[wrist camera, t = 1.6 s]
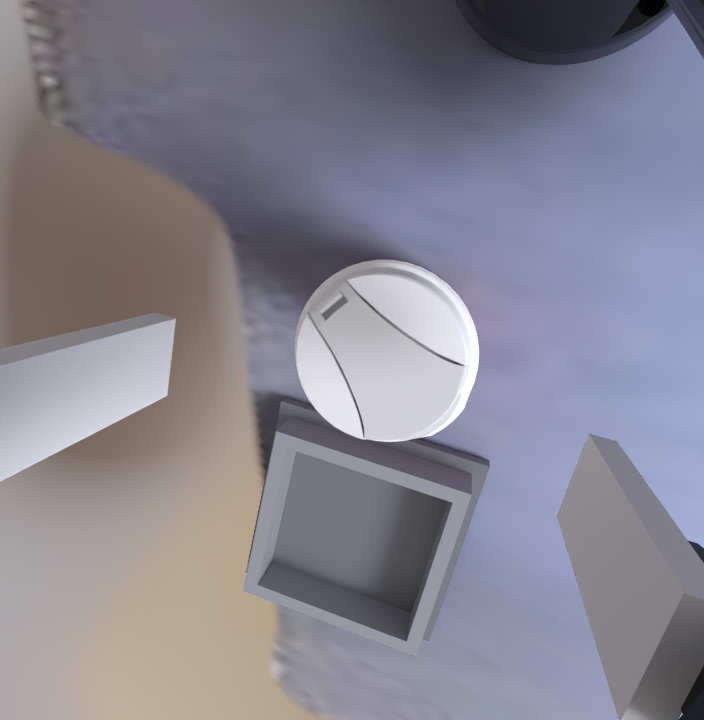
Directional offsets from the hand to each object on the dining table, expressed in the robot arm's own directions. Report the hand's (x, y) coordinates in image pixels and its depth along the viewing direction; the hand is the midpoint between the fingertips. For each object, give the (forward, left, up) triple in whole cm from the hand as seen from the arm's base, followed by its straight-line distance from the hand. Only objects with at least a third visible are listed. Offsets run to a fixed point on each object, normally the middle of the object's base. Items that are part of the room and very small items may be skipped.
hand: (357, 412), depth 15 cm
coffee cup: (0, 0, -21) cm, 21 cm away
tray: (+17, 0, -21) cm, 27 cm away
